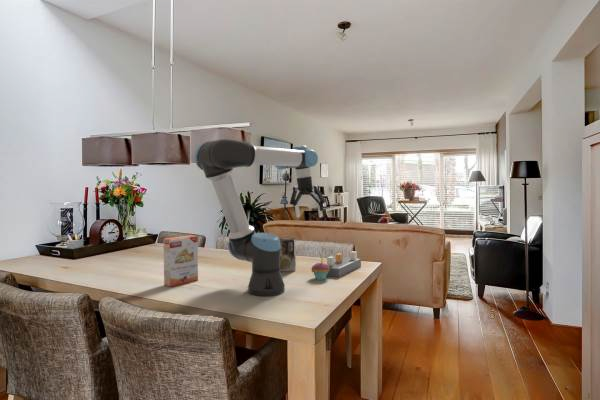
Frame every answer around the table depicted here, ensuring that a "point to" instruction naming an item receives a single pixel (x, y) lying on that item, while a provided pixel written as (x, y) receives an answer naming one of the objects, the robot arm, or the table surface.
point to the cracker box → (180, 260)
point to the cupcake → (320, 270)
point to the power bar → (344, 267)
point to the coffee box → (287, 254)
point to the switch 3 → (353, 255)
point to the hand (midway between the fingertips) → (309, 217)
